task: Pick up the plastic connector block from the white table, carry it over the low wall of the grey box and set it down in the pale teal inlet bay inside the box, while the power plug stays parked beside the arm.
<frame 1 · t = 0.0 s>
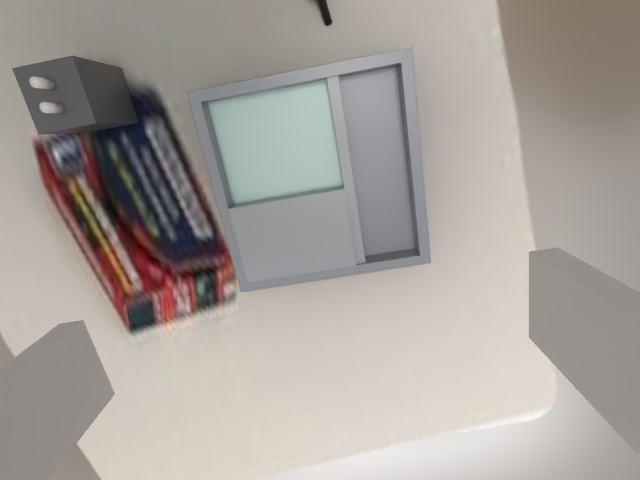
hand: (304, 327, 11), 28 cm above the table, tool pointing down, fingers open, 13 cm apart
walled box: (317, 178, 37), on the table
connector: (106, 100, 35), on the table
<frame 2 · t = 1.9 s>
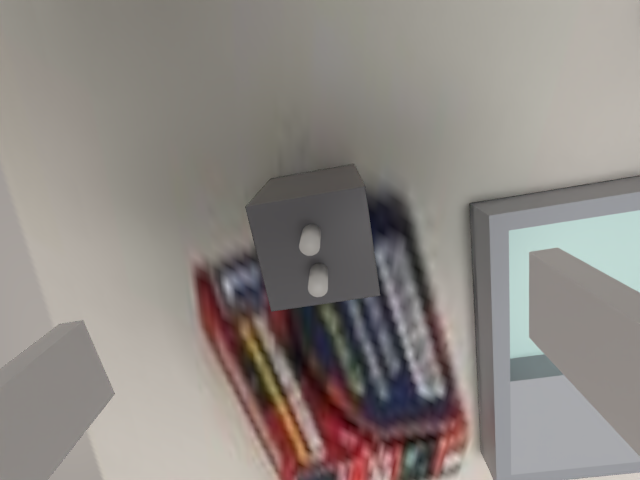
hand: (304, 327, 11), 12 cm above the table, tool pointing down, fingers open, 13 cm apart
walled box: (628, 323, 24), on the table
connector: (319, 211, 22), on the table
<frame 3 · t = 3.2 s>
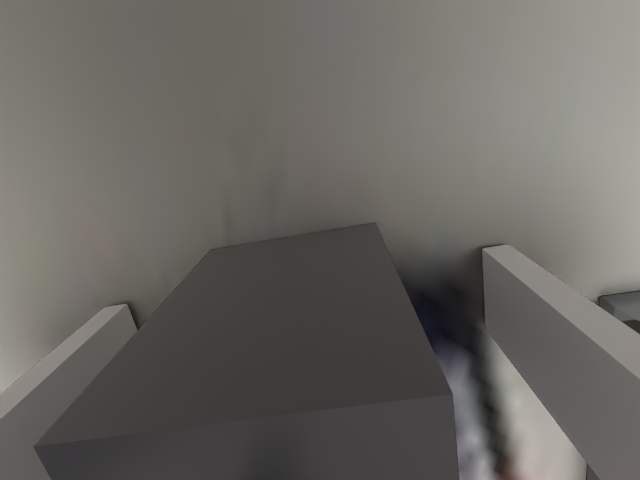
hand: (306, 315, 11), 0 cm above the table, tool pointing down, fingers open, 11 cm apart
connector: (307, 309, 12), on the table
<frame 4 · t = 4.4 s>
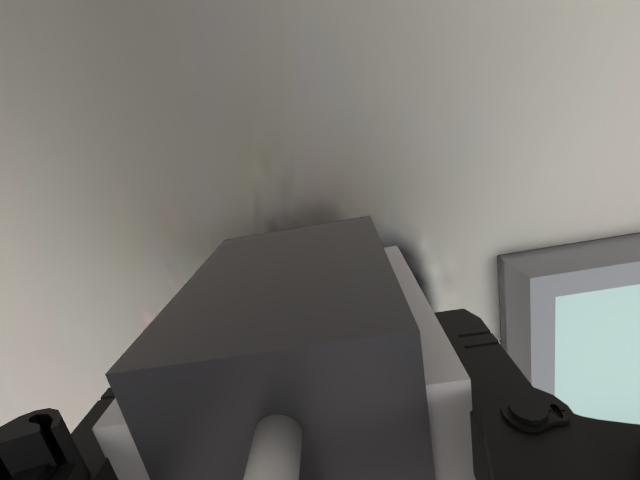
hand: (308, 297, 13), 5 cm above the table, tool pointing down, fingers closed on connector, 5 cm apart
connector: (309, 294, 13), point 4 cm above the table, touching gripper
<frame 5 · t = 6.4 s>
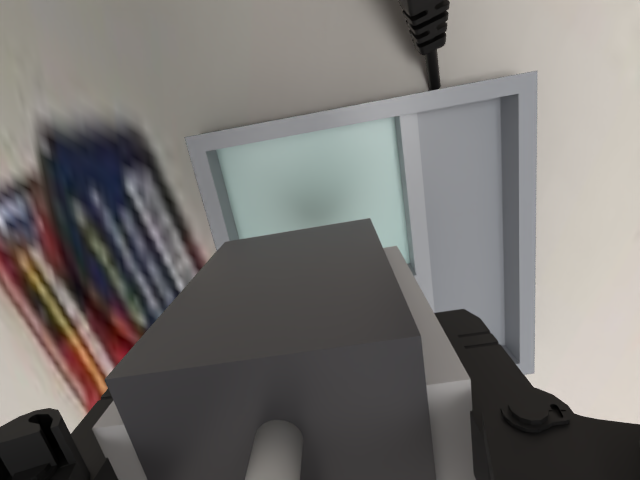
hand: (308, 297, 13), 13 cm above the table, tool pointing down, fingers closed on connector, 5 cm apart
walled box: (371, 252, 26), on the table
connector: (309, 296, 13), point 13 cm above the table, touching gripper
when the fingers open (2 cm above the table, at t = 8.2 s): connector drops 1 cm, resting on walled box.
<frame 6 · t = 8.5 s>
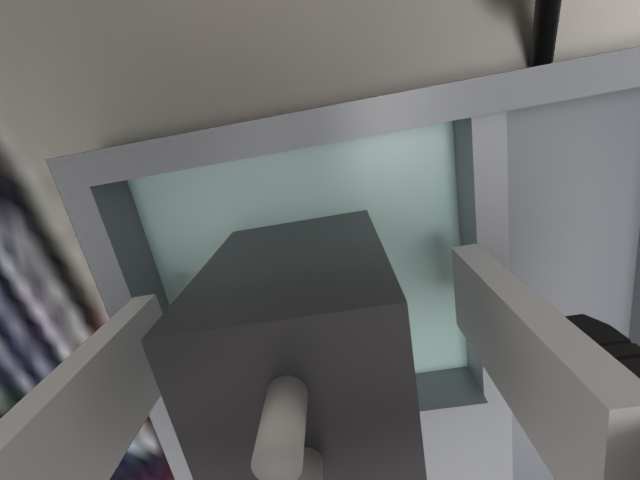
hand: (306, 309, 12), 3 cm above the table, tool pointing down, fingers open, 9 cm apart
walled box: (401, 343, 16), on the table
connector: (311, 282, 14), point 1 cm above the table, touching walled box
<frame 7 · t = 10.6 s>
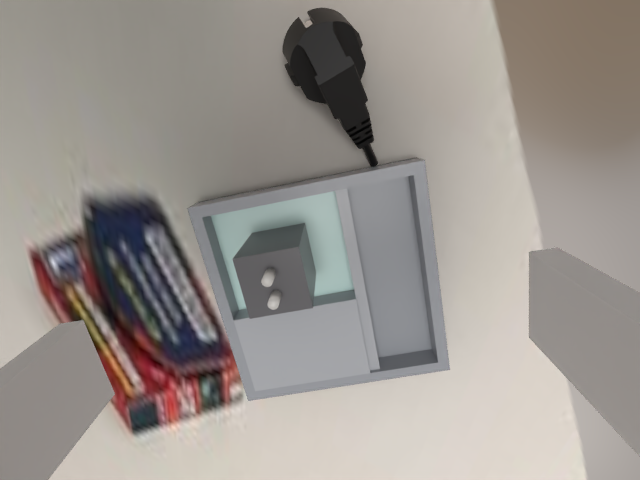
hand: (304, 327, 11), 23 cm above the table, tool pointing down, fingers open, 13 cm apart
power plug: (342, 100, 31), on the table
walled box: (326, 281, 35), on the table
connector: (284, 253, 34), point 1 cm above the table, touching walled box
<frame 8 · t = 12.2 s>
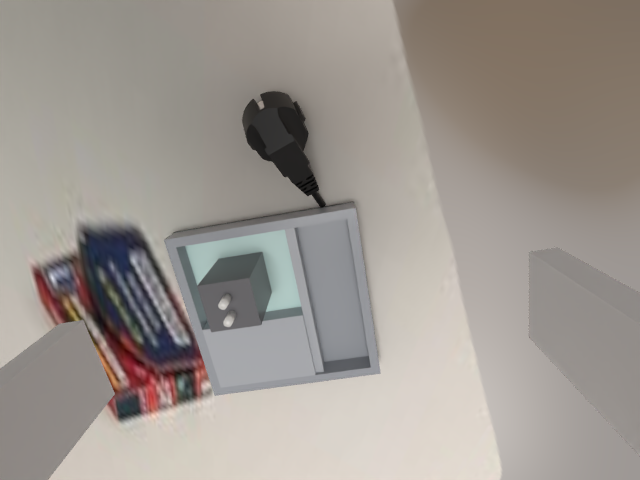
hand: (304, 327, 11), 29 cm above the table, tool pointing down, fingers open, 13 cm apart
power plug: (295, 154, 38), on the table
walled box: (281, 298, 42), on the table
connector: (245, 275, 41), point 1 cm above the table, touching walled box
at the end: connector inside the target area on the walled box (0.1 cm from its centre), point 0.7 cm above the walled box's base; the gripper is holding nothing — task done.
